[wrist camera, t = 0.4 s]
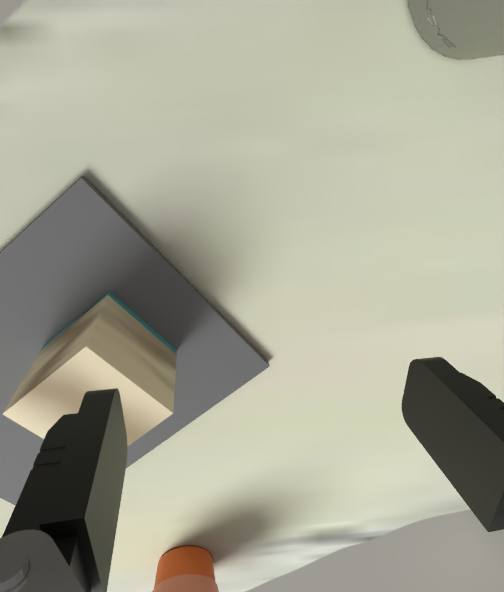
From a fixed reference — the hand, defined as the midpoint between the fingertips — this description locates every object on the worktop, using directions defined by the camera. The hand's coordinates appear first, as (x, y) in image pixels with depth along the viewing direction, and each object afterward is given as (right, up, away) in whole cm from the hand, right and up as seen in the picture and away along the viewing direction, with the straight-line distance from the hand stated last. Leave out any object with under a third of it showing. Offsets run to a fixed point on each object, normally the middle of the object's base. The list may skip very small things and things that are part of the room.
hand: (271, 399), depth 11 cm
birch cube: (-11, -1, +19) cm, 22 cm away
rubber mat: (-16, -4, +21) cm, 26 cm away
